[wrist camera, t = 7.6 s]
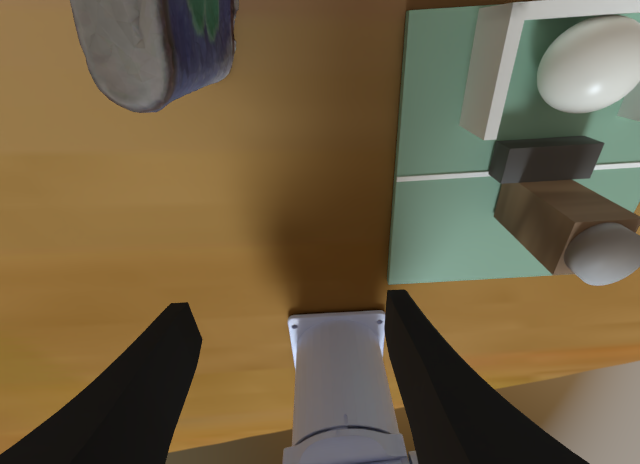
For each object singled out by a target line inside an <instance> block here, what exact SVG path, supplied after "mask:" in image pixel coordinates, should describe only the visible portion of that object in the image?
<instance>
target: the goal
mask: <svg viewBox="0 0 640 464" xmlns="http://www.w3.org/2000/svg"><path fill="white" fill-rule="evenodd" d="M629 13H640V0H542V1H527V2H513V3H507V4H501V5H495V6H490V7H484V8H479V12H478V18H477V23H476V29H475V35H474V41H473V47H472V53H471V59H470V64H469V70H468V76H467V82H466V88H465V94H464V100H463V105H462V111H461V117H460V123H459V126H461V127H462V128H464V129H466V130H467V131H469V132H471V133H472V134H474V135H476V136H477V137H479V138H481V139H482V140H496V139H497V134H498V130H499V126H500V122H501V117H502V113H503V109H504V105H505V101H506V96H507V92H508V88H509V84H510V79H511V75H512V71H513V67H514V63H515V58H516V54H517V50H518V46H519V41H520V37H521V33H522V29H523V24H524V20H537V19H553V18H568V17H583V16H598V15H613V14H629ZM617 116H620V117H624V118H628V119H632V120H635V121H639V122H640V82H639V83H638V84H637V85H636V86H635V87H634V89H633V90H631V91H630V92H629V93H628V94H627V95H626V96H625V97H624V100H623V102H622V104H621V107H620V109H619V111H618V114H617Z"/></svg>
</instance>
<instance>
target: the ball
mask: <svg viewBox="0 0 640 464" xmlns="http://www.w3.org/2000/svg"><path fill="white" fill-rule="evenodd" d="M639 82H640V23H639V22H637V21H636V20H634V19H632V18H629V17H626V16H622V15H601V16H596V17H592V18H589V19H586V20H584V21H581V22H579V23H577V24H575V25H574V26H572V27H570V28H569V29H567V30H566V31H565V32H563V33H562V34H561V35H560V36H558V37H557V38H556V39H555V40H554V41H553V42H552V44H551V45H550V46H549V47H548V49H547V50H546V52H545V53H544V55H543V57H542V59H541V61H540V64H539V67H538V71H537V87H538V90H539V93H540V95H541V97H542V98H543V100H544V101H545V102H546V103H547V104H548V105H550V106H551V107H553V108H554V109H557V110H559V111H562V112H566V113H574V114H577V113H589V112H593V111H597V110H600V109H603V108H605V107H608V106H610V105H612V104H613V103H615V102H617V101H619V100H620V99H622V98H623V97H624V96H626V95H627V94H628V93H629V92H630V91H631V90H633V89H634V87H635V86H636V85H637V84H638V83H639Z"/></svg>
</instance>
